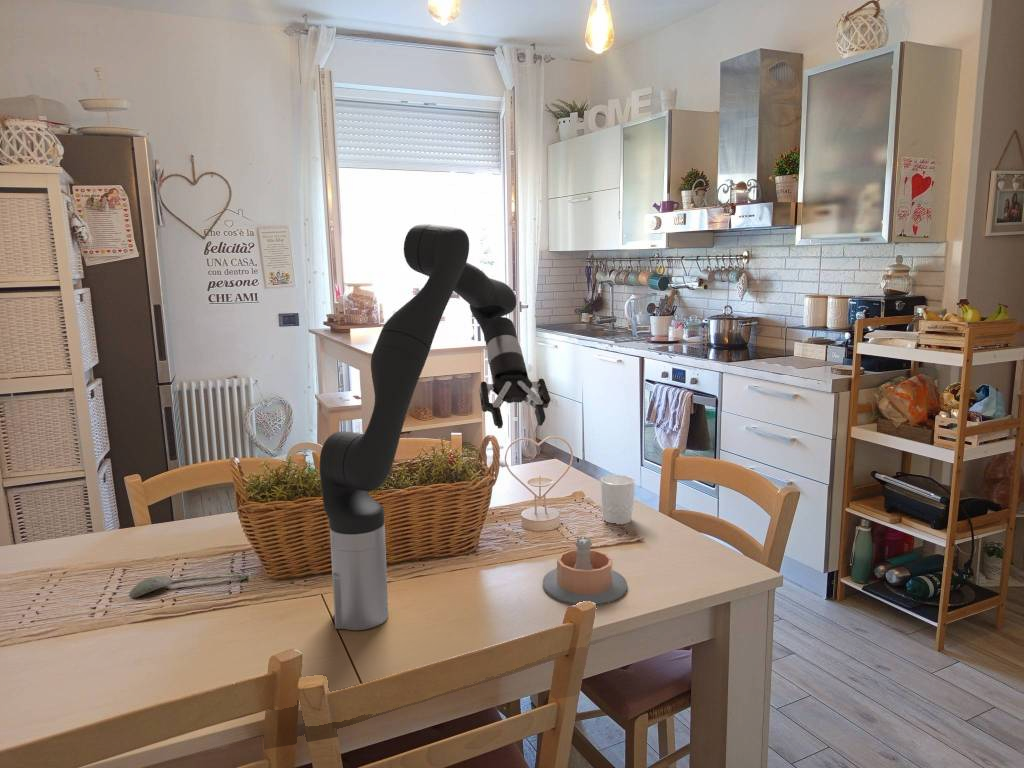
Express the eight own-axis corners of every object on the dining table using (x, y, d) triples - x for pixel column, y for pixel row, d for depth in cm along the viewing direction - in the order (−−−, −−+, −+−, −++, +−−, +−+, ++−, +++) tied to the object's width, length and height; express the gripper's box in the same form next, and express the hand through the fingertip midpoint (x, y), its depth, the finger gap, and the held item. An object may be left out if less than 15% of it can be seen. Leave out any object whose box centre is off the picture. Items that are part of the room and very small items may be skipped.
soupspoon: (133, 590, 141) (125, 607, 135) (130, 574, 141) (122, 590, 134) (252, 573, 147) (249, 588, 140) (250, 558, 146) (247, 572, 140)
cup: (558, 610, 129) (558, 582, 128) (532, 573, 145) (532, 548, 144) (640, 599, 133) (641, 571, 132) (607, 564, 149) (607, 539, 148)
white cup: (633, 526, 169) (634, 485, 167) (599, 524, 171) (599, 483, 169) (634, 515, 177) (635, 475, 175) (601, 513, 178) (602, 473, 176)
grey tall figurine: (588, 585, 136) (588, 545, 134) (567, 580, 138) (567, 540, 137) (598, 576, 140) (599, 537, 138) (578, 571, 142) (578, 532, 141)
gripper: (476, 352, 151) (489, 417, 142) (541, 349, 155) (558, 412, 146) (471, 373, 157) (484, 437, 148) (534, 370, 161) (550, 432, 152)
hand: (521, 425), depth 147 cm, fingers open, 8 cm apart
